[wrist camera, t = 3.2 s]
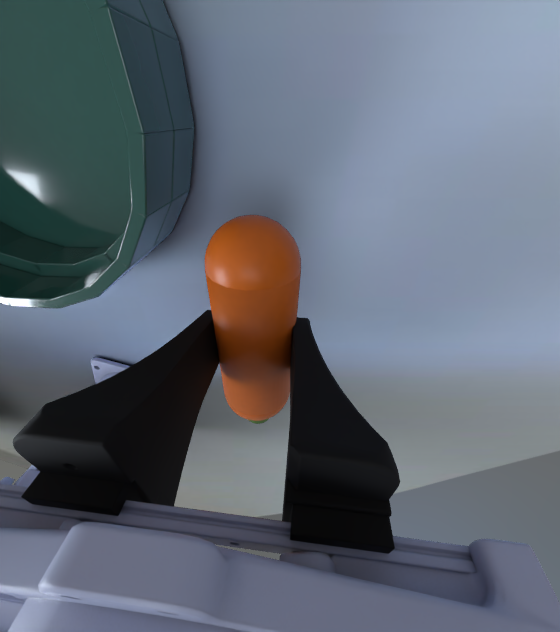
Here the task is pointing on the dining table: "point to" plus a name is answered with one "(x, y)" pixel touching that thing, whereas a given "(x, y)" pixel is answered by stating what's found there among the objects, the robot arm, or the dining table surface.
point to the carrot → (254, 311)
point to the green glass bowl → (87, 144)
